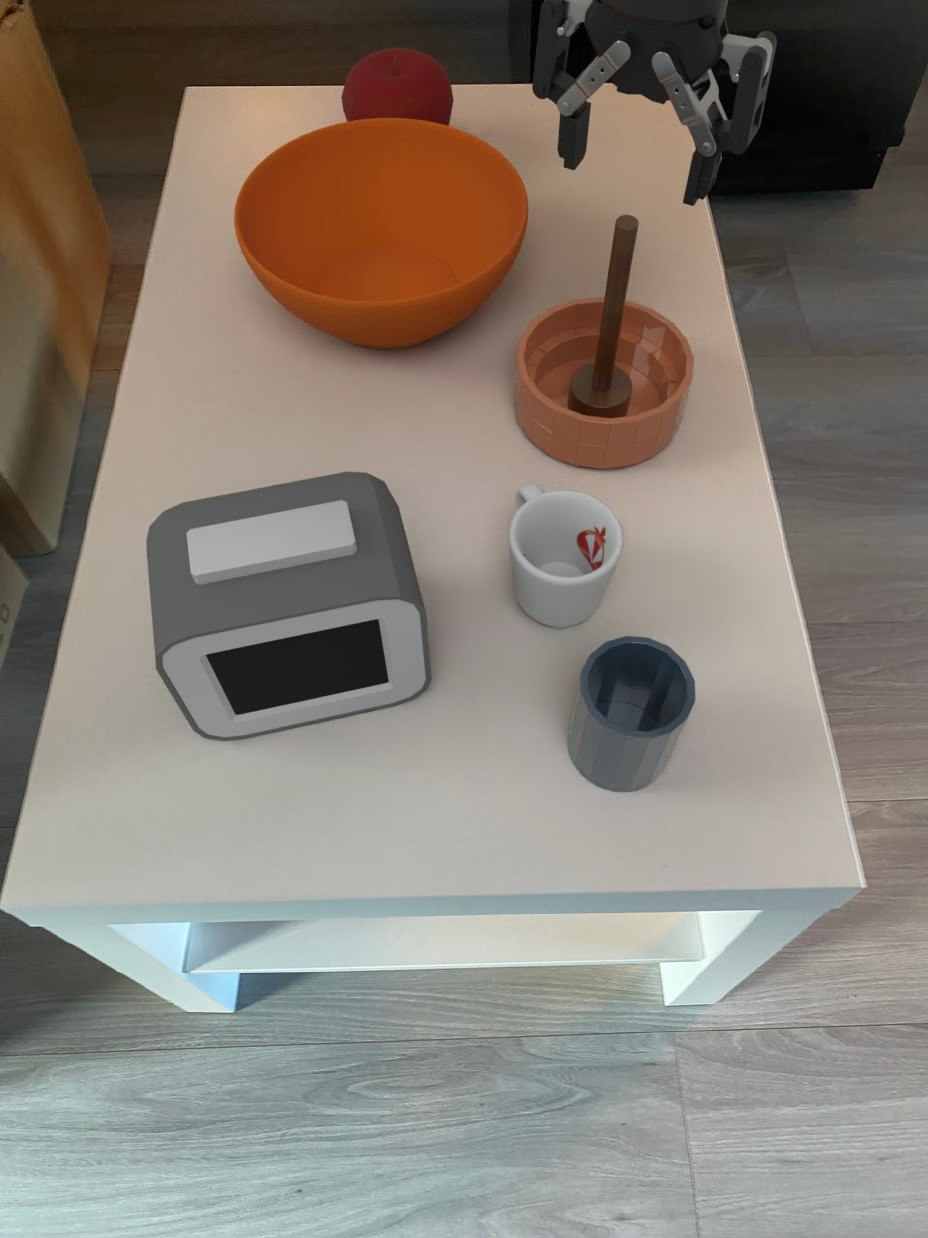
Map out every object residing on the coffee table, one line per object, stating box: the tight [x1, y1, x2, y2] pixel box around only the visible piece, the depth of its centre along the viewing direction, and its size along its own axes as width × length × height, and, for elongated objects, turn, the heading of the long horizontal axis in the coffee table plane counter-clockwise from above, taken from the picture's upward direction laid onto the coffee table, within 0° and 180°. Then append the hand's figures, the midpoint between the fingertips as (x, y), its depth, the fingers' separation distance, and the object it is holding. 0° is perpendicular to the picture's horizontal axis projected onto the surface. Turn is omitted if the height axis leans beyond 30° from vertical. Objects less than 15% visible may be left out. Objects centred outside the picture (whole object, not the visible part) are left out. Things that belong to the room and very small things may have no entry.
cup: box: [508, 482, 625, 628], centre depth 69 cm, size 11×8×8 cm
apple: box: [340, 47, 454, 126], centre depth 95 cm, size 11×11×12 cm
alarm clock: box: [145, 471, 432, 742], centre depth 63 cm, size 16×11×16 cm
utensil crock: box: [567, 635, 696, 793], centre depth 62 cm, size 7×7×9 cm
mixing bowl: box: [513, 296, 695, 470], centre depth 79 cm, size 14×14×6 cm
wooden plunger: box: [568, 214, 640, 418], centre depth 74 cm, size 5×5×18 cm
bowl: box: [233, 118, 530, 350], centre depth 85 cm, size 25×25×10 cm
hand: (632, 180), depth 63 cm, fingers open, 8 cm apart
